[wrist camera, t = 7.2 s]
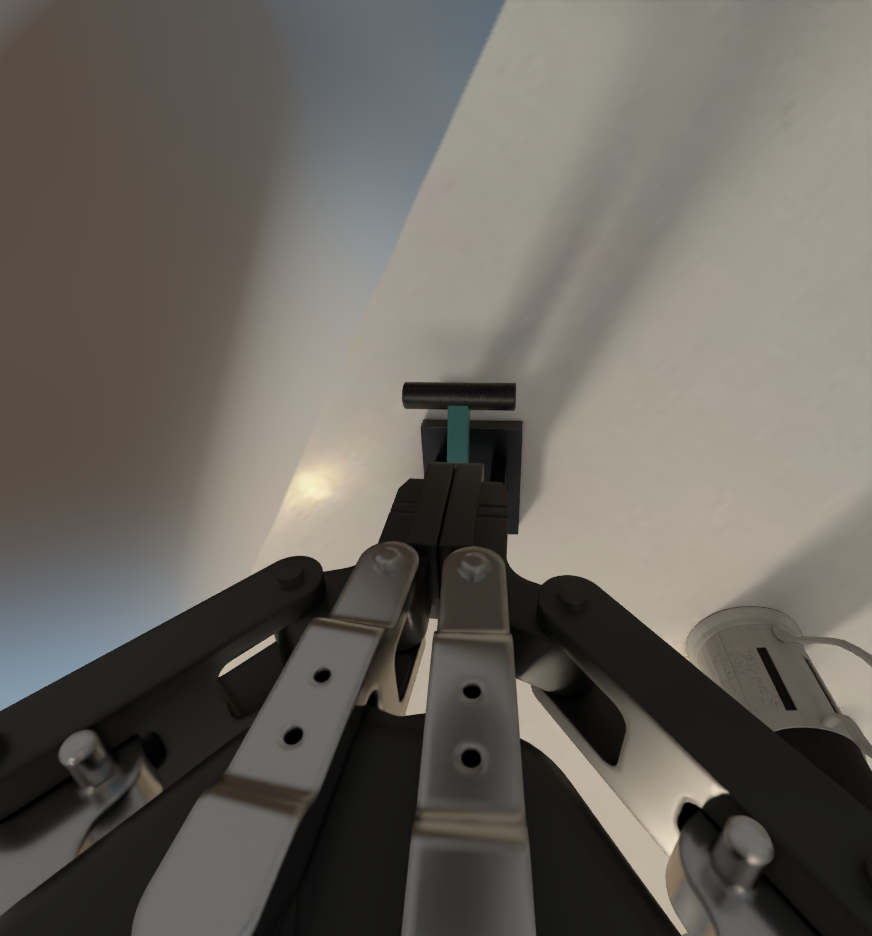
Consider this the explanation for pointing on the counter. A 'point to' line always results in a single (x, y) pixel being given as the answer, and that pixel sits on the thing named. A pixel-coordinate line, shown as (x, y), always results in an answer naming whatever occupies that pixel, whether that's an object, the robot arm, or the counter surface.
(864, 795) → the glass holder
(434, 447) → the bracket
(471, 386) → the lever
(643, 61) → the counter surface
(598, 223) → the counter surface
